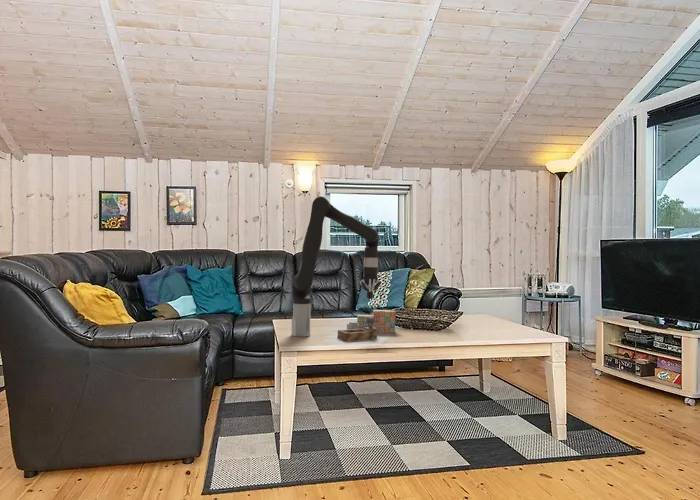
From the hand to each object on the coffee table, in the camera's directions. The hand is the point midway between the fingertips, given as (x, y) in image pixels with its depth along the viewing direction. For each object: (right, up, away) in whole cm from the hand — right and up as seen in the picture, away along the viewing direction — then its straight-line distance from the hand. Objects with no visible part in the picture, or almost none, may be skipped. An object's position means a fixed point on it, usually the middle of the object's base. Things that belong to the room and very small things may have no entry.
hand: (369, 298), depth 265 cm
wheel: (+1, -12, 0) cm, 12 cm away
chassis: (-6, -20, -4) cm, 21 cm away
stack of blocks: (+4, -21, +18) cm, 28 cm away
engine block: (-9, -20, +7) cm, 23 cm away
